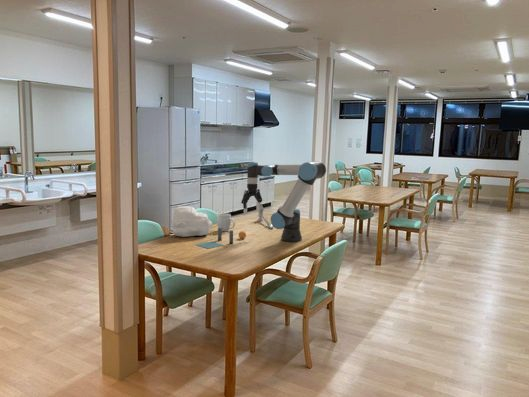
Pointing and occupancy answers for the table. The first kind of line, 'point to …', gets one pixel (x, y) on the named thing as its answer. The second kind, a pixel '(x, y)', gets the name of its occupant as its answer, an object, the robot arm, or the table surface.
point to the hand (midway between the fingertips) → (251, 211)
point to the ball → (242, 234)
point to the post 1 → (219, 234)
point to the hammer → (263, 217)
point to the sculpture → (190, 222)
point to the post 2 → (230, 237)
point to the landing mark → (209, 245)
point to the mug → (224, 221)
